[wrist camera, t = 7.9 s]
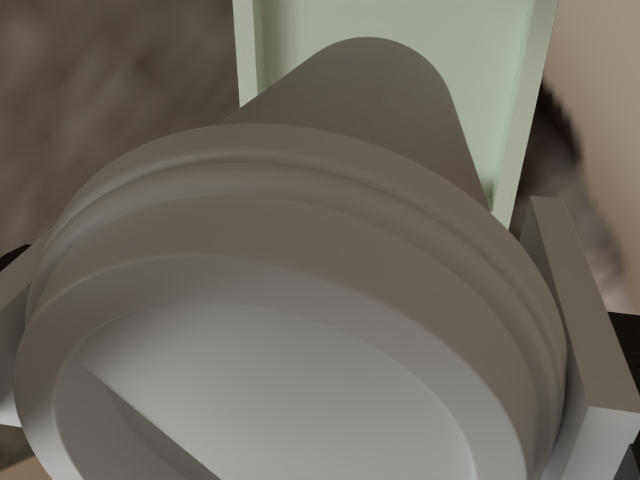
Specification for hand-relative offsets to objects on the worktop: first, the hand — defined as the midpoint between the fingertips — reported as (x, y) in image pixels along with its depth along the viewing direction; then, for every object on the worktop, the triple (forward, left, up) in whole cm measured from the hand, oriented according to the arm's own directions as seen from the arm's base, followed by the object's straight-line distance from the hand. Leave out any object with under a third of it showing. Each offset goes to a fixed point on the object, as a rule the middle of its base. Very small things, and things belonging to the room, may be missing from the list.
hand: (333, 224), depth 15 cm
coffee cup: (0, 0, -8) cm, 8 cm away
